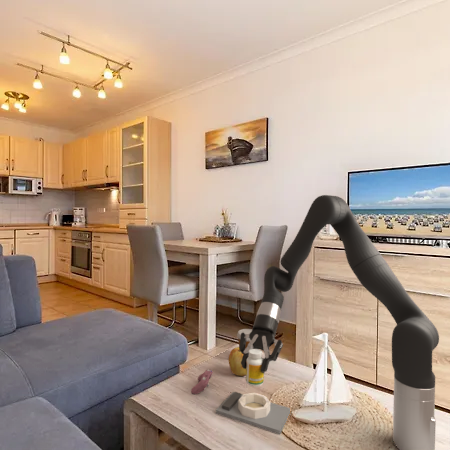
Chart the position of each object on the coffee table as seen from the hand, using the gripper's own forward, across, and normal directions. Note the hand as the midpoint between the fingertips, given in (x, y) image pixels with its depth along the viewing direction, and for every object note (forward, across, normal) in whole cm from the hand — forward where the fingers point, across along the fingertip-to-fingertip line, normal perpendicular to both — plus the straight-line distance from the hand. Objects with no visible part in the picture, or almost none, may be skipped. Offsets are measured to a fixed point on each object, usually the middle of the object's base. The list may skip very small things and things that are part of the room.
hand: (252, 369), depth 96 cm
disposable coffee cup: (-14, -16, +34) cm, 40 cm away
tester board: (+9, 0, +11) cm, 14 cm away
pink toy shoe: (+6, -21, +14) cm, 26 cm away
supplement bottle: (+2, 0, +5) cm, 5 cm away
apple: (-6, -14, +26) cm, 30 cm away
